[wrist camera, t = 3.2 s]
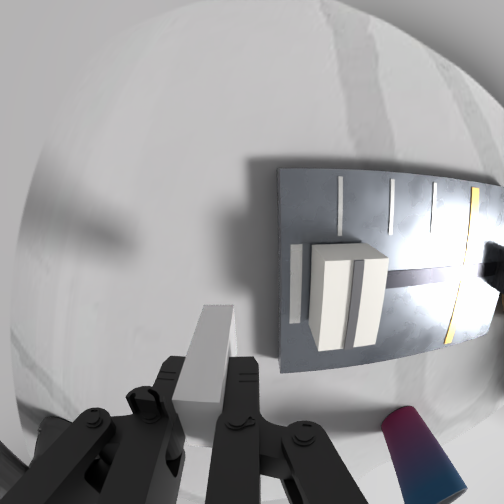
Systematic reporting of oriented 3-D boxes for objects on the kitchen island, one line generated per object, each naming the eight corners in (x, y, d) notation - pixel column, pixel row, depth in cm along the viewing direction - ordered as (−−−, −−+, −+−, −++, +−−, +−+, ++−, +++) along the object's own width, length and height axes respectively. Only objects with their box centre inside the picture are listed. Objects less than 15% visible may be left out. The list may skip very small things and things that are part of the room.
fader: (308, 323, 20) (318, 353, 16) (311, 244, 18) (325, 262, 15) (358, 319, 20) (376, 345, 16) (367, 243, 18) (390, 259, 15)
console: (278, 359, 24) (283, 398, 19) (277, 168, 19) (285, 167, 14) (477, 326, 23) (501, 347, 19) (501, 186, 19) (535, 193, 14)
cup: (381, 409, 26) (424, 508, 12) (427, 395, 26) (478, 479, 12) (370, 439, 28) (400, 527, 14) (412, 426, 28) (450, 504, 14)
